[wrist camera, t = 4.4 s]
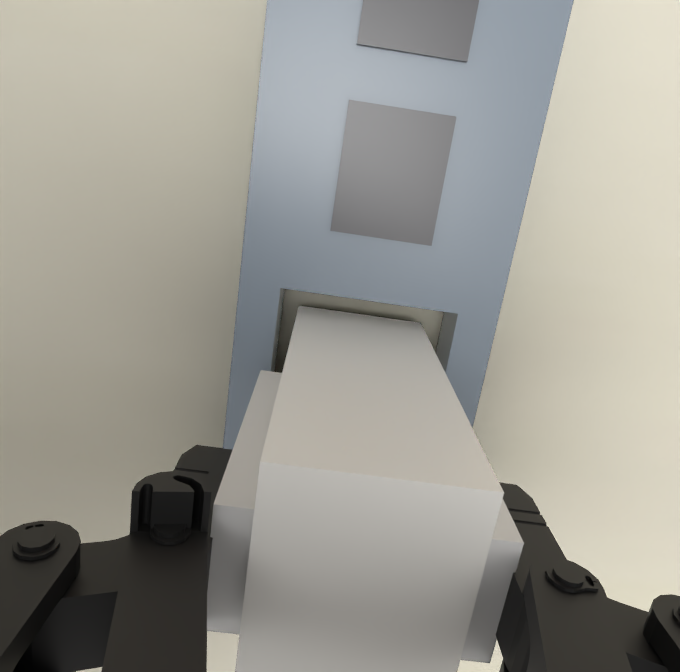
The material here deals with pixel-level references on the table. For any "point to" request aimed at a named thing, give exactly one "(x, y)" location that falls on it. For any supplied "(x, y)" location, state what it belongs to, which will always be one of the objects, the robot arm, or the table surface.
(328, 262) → the power strip
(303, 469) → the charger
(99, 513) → the table surface
